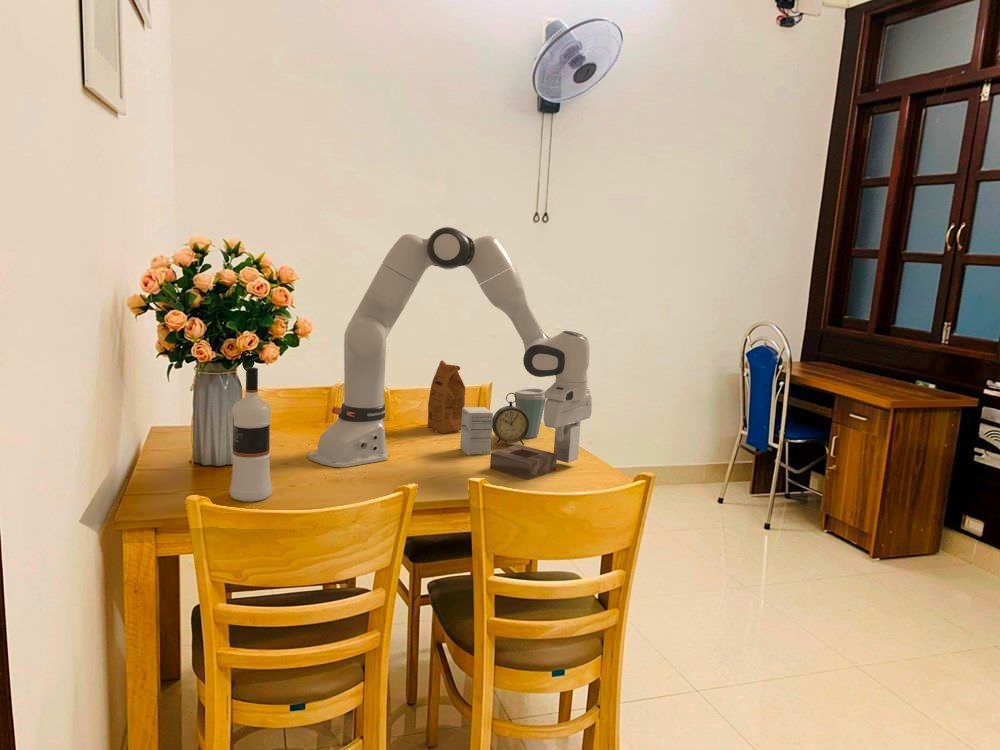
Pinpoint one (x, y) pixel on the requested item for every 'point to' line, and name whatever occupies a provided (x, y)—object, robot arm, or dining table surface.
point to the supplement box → (476, 430)
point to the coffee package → (446, 399)
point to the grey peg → (568, 444)
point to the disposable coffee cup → (531, 408)
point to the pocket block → (523, 461)
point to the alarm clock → (510, 424)
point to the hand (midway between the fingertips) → (566, 438)
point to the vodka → (251, 444)
